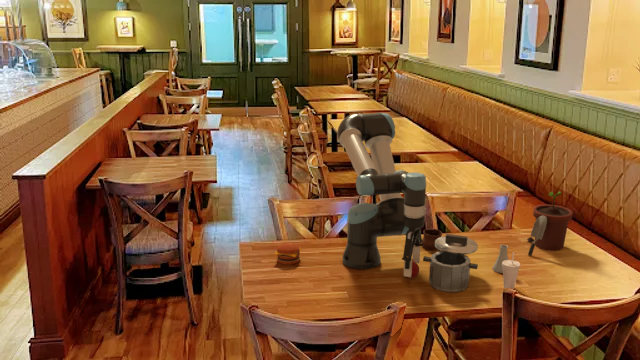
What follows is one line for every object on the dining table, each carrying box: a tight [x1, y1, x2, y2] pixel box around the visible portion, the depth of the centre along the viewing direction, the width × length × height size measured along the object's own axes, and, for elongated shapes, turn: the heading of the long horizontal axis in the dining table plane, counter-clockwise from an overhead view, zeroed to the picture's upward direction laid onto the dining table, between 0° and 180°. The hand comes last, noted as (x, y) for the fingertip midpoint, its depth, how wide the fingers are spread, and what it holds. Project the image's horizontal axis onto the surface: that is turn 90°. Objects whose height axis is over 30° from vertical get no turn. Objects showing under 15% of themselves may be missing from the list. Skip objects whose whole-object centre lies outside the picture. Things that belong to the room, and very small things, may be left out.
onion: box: [407, 258, 420, 280], centre depth 233 cm, size 6×6×8 cm
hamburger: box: [274, 242, 302, 265], centre depth 250 cm, size 9×10×7 cm
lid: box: [435, 233, 479, 255], centre depth 237 cm, size 16×16×4 cm
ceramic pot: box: [422, 228, 443, 251], centre depth 264 cm, size 18×18×7 cm
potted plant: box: [527, 191, 574, 257], centre depth 261 cm, size 18×22×25 cm
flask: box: [492, 244, 509, 274], centre depth 241 cm, size 7×7×10 cm
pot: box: [422, 251, 479, 293], centre depth 229 cm, size 20×14×10 cm
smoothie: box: [502, 251, 521, 290], centre depth 225 cm, size 6×6×14 cm
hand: (411, 269), depth 232 cm, fingers open, 13 cm apart
